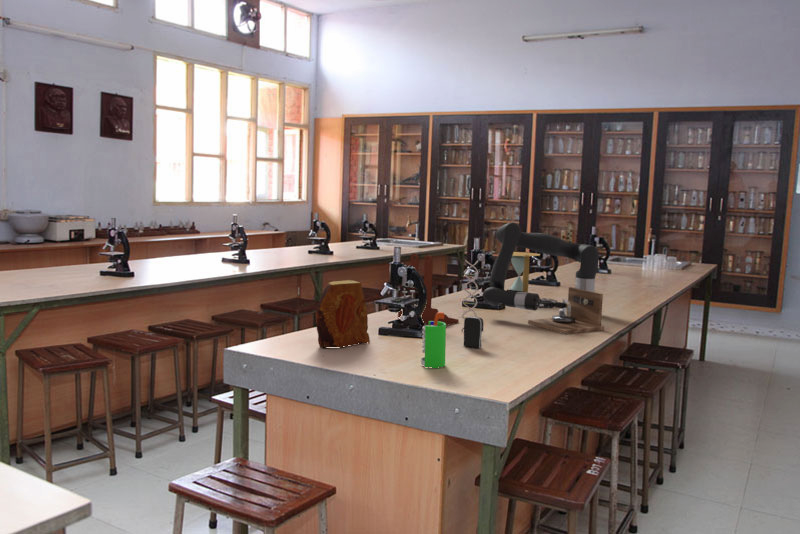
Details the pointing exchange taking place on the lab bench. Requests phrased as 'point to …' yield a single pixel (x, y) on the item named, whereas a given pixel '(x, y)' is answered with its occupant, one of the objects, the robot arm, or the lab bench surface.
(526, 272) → the hourglass
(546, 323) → the levelling base
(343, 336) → the fossil rock
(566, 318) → the cam foot
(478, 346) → the battery charger
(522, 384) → the lab bench surface
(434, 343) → the green-shelled ribbed roller
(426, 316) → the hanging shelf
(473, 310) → the dna model
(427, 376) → the lab bench surface
